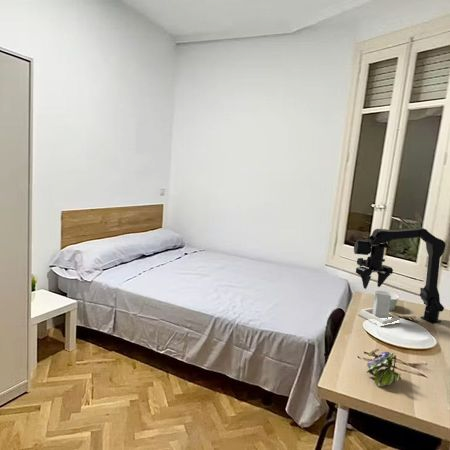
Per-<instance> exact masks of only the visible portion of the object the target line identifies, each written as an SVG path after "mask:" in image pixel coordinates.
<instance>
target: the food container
mask: <svg viewBox="0 0 450 450" xmlns="http://www.w3.org/2000/svg"><path fill="white" fill-rule="evenodd" d="M375 293H386V294H389V295H390V296H391V301H390V308H389V311H394V310H395V309H396V305H397V303H398V300H399V299H400V296H399V295H398V294H396V293H394V292H390V291H386V290H375V291H373V295H375Z"/></svg>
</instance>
